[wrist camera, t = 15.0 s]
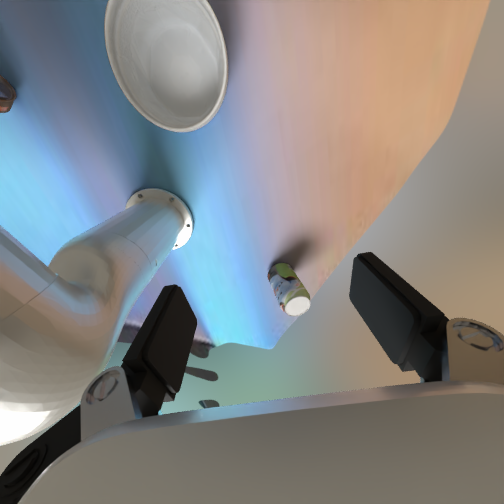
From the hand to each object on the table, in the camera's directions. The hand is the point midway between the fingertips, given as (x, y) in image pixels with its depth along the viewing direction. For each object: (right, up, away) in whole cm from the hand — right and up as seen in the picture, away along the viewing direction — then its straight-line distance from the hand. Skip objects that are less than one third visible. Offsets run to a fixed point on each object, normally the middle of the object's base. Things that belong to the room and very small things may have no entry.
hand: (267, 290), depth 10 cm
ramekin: (-10, +27, +17) cm, 33 cm away
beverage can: (+6, -2, +34) cm, 35 cm away
